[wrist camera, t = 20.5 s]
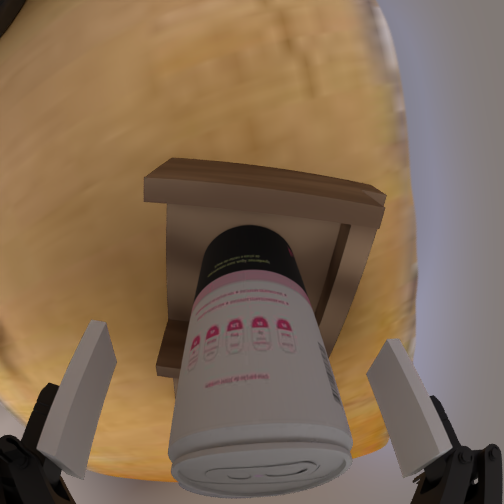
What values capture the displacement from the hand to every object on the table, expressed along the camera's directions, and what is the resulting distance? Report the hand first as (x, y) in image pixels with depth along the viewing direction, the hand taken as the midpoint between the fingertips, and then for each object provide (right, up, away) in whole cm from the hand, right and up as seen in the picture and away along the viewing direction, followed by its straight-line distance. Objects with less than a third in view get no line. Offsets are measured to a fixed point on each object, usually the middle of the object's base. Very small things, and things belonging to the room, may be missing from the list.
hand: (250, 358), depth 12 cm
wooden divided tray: (0, -2, +12) cm, 12 cm away
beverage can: (0, +4, +9) cm, 10 cm away
